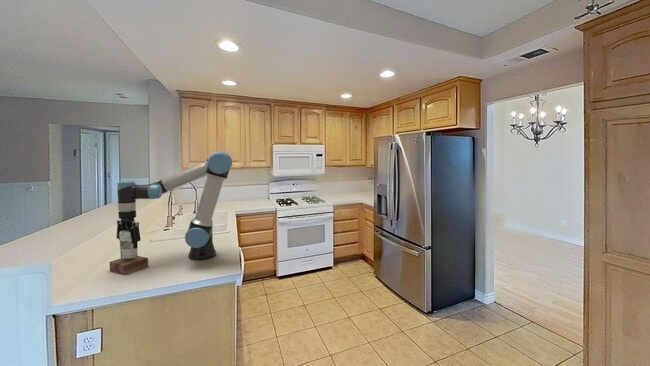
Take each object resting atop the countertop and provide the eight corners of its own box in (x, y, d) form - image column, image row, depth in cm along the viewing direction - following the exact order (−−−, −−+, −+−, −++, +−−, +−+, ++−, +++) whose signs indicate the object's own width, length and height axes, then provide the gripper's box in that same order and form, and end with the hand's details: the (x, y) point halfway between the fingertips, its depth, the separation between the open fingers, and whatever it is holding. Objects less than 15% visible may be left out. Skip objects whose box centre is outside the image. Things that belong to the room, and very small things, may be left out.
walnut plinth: (148, 266, 150) (147, 257, 149) (125, 275, 139) (124, 265, 138) (133, 263, 154) (132, 254, 154) (109, 271, 143) (109, 261, 143)
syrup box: (138, 255, 149) (136, 228, 148) (132, 258, 143) (131, 231, 142) (126, 255, 148) (125, 229, 147) (120, 259, 143) (118, 231, 141)
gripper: (148, 210, 144) (149, 253, 146) (121, 207, 151) (123, 248, 153) (133, 213, 137) (135, 258, 139) (106, 209, 144) (108, 252, 146)
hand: (129, 253), depth 146 cm, fingers open, 8 cm apart
